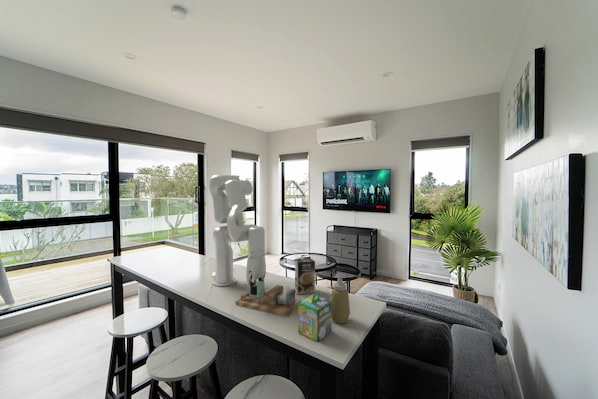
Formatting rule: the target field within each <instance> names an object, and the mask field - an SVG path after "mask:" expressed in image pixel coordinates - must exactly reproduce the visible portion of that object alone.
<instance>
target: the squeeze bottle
mask: <svg viewBox="0 0 598 399" xmlns="http://www.w3.org/2000/svg"><path fill="white" fill-rule="evenodd" d="M342 276H343V275H341V274H340V275H338V277H337V281H336V283H334V285H333V289H332V290H331V294H330V295H331V296H330V297H331V298H330V301H332V322H333V323H336V324H341V325H342V324H346V323H347V322H348V320H349V317H350V315H351V309H350V299H349V298H350V295H349V291H348V290H347V286H346V285H347V284H345V283H344V282H343V277H342Z"/></svg>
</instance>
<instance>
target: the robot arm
mask: <svg viewBox="0 0 598 399" xmlns="http://www.w3.org/2000/svg"><path fill="white" fill-rule="evenodd" d="M208 185H209V192H210V194H211V195H210V196H211V198H212V203H213V216H214V220H215V222H216V223H217V224H221V226H218V227H215V228H214V230H213V233H212V235H213V242H214V254H215V255H214V256H215V257H214V259H215V264H214V266H215V267H214V268H215V272H212V274H211V275H210V277H211V278H213V280H212V285H214V286H217V287H226V286H230V285H234V284H235V283H236V282H237V279H236V277H234V250H233V248H232V246H231V245H230V243H240V242H245V241H247V242H248V244H247V246H248V247H247V248H248V249H247V250H248V252H247V253H248V254H247V256H248V257H247V260H246V271H245V273H246V274H245V275H246V276H245V277H246V283H247V284H248V286H250V294H251V295H257V286H256V281H262V282H264V283H265V277H266V274H267V264H266V245H265V244H266V242H265V241H266V240H265V238H266V237H265V236H266V235H265V234H266V233H265V231H266V230H265V227H263V226H258V225H256V224H245V219H244V214H243V212H244V211H245V210H246V209H247V208H248V207H249V206H248V201H247V198H246V196H250V195H252V194H253V190H254V189H253V188H254V187H253V184H252V182H251V181H250V180H249V179H247V178H244V177H243V176H241V175H233V174H232V175H231V174H230V175H229V174H215V175H212V176H211V177H210V179H209V182H208ZM222 224H226V225H222ZM253 282H254V283H253Z"/></svg>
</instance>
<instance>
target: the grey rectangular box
mask: <svg viewBox="0 0 598 399" xmlns="http://www.w3.org/2000/svg"><path fill="white" fill-rule="evenodd" d="M295 299H296V291H295V288H291V289H289V290H288V291H287V292H283V293H281V292H278V293H277V294H276V303H279V304H283V305H286V307H290V306H291V305H292V304H293V303H294V302H295Z"/></svg>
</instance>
